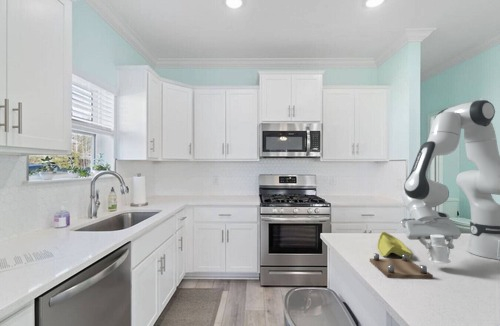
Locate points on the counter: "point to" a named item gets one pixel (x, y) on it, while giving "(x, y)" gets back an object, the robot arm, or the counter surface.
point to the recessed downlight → (438, 250)
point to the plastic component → (391, 246)
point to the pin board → (400, 268)
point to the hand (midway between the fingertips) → (440, 248)
